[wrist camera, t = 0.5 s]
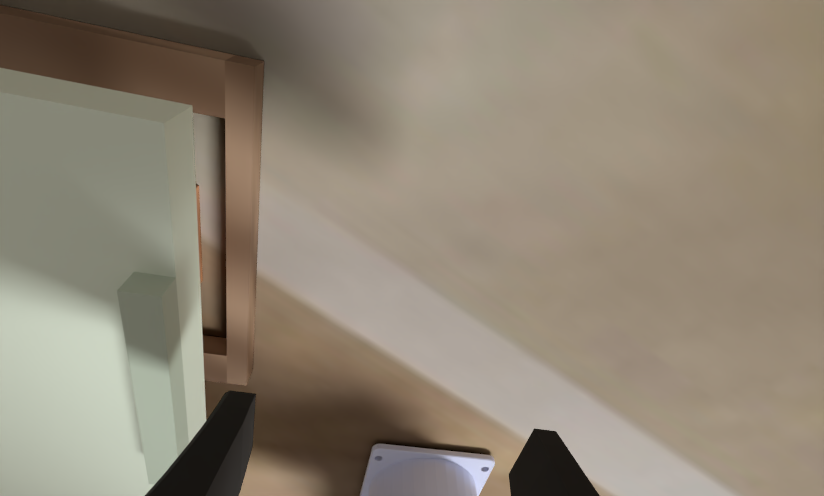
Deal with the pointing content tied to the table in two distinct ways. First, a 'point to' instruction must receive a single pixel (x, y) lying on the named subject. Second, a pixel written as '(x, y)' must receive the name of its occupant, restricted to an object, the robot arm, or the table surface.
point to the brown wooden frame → (208, 94)
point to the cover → (96, 288)
